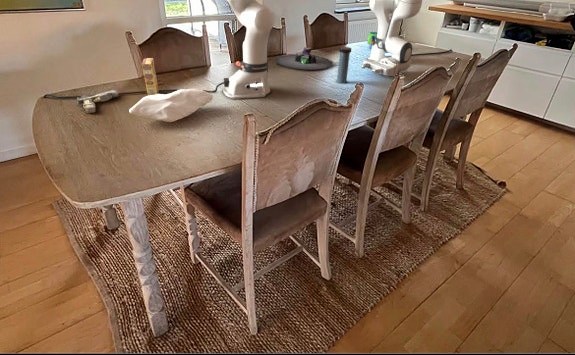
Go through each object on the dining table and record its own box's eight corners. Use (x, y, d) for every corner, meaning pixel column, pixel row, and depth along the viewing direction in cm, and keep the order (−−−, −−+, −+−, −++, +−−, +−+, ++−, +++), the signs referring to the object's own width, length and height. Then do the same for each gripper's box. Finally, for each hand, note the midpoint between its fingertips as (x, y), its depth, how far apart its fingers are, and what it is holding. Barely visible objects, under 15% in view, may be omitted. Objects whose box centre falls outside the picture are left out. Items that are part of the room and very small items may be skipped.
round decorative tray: (344, 65, 218) (345, 49, 214) (297, 72, 201) (297, 55, 197) (309, 55, 243) (309, 41, 239) (264, 61, 226) (264, 46, 221)
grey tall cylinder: (335, 80, 195) (339, 48, 186) (344, 80, 196) (348, 47, 187) (338, 83, 191) (342, 50, 182) (347, 83, 192) (351, 50, 183)
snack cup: (377, 45, 268) (379, 31, 262) (387, 48, 261) (390, 33, 255) (361, 47, 260) (363, 32, 255) (371, 51, 253) (374, 35, 248)
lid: (337, 50, 186) (338, 46, 186) (348, 50, 188) (348, 46, 187) (341, 53, 182) (342, 49, 181) (352, 52, 183) (353, 49, 182)
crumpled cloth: (117, 110, 146) (113, 90, 140) (195, 92, 166) (194, 73, 160) (143, 139, 134) (140, 118, 128) (223, 116, 154) (224, 96, 148)
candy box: (157, 97, 164) (152, 63, 155) (147, 98, 163) (141, 63, 155) (158, 91, 171) (153, 57, 163) (149, 91, 170) (143, 58, 162)
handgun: (128, 97, 156) (111, 87, 164) (86, 107, 144) (70, 97, 152) (129, 103, 157) (113, 94, 165) (88, 114, 146) (72, 103, 154)
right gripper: (374, 55, 209) (356, 58, 203) (400, 64, 195) (381, 67, 189) (373, 66, 213) (354, 69, 207) (398, 76, 198) (379, 79, 192)
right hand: (367, 68), depth 198 cm, fingers open, 8 cm apart
